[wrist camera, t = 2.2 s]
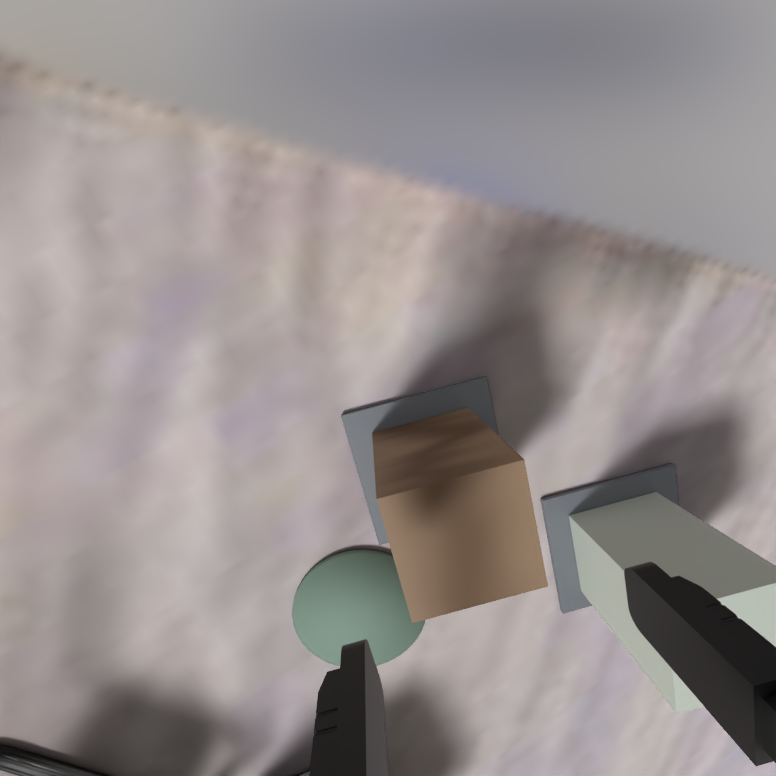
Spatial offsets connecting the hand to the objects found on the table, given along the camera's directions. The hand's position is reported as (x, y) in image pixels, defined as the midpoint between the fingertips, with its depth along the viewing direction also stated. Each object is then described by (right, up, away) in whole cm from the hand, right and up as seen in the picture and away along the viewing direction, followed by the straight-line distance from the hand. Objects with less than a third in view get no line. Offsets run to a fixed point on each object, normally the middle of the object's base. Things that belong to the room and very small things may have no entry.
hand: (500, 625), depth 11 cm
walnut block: (-1, +2, +12) cm, 12 cm away
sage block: (+12, -3, +14) cm, 19 cm away
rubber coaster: (-5, -8, +14) cm, 17 cm away
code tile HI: (+12, -3, +14) cm, 19 cm away
